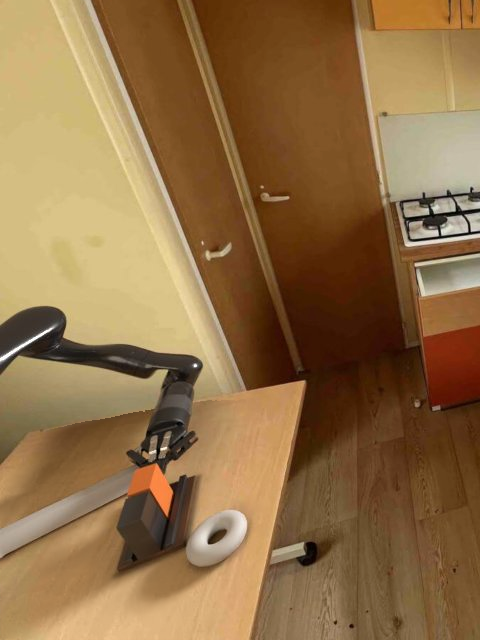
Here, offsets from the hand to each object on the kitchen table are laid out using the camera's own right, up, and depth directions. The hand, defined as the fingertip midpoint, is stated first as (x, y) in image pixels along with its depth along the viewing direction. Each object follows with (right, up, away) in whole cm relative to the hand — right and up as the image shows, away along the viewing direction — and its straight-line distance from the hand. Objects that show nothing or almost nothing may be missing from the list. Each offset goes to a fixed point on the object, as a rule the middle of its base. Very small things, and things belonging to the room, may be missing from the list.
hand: (154, 478), depth 86 cm
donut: (+17, -10, -4) cm, 20 cm away
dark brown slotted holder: (+2, -8, -1) cm, 9 cm away
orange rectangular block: (+2, -7, 0) cm, 7 cm away
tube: (-15, -7, +2) cm, 17 cm away
